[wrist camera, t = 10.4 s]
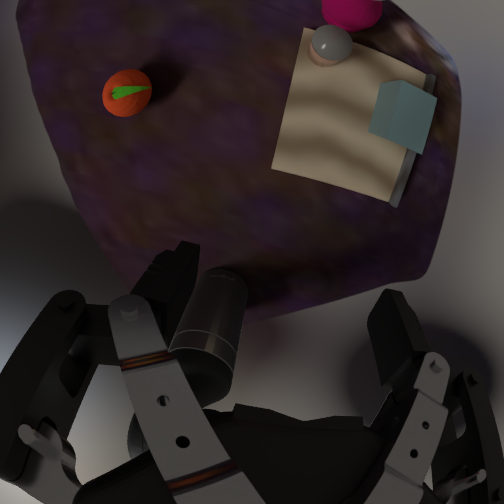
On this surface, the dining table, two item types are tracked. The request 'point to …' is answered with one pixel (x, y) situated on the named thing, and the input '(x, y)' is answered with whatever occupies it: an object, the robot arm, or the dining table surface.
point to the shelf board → (345, 123)
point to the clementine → (127, 92)
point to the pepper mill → (352, 13)
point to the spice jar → (329, 45)
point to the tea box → (403, 114)
